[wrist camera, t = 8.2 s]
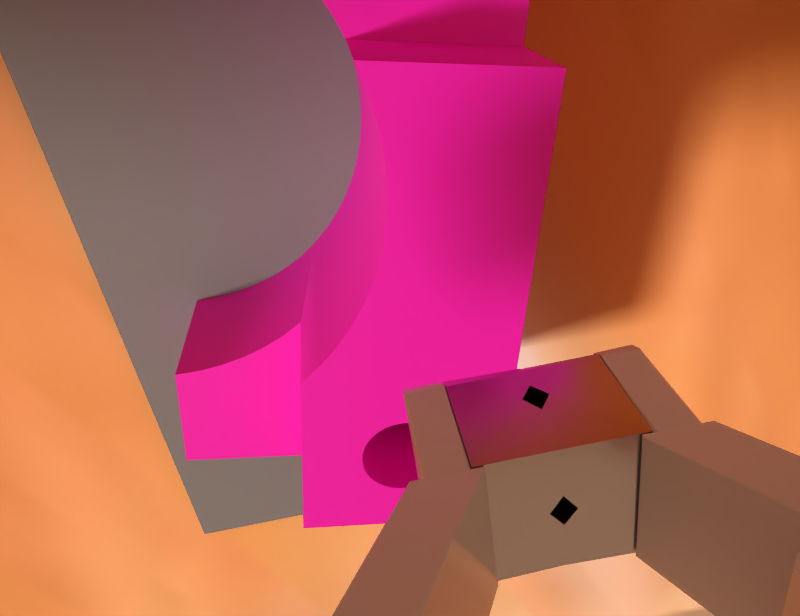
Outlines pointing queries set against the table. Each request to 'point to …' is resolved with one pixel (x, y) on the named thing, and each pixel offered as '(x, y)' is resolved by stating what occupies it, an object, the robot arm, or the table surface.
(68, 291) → the table surface
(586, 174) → the table surface
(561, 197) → the table surface
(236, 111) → the rubber mat
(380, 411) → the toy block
